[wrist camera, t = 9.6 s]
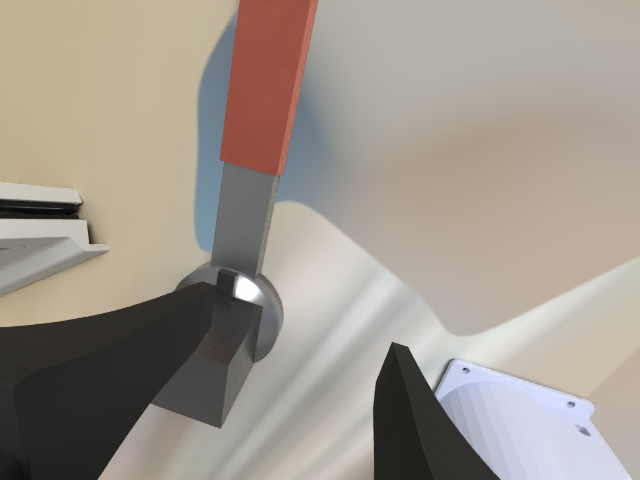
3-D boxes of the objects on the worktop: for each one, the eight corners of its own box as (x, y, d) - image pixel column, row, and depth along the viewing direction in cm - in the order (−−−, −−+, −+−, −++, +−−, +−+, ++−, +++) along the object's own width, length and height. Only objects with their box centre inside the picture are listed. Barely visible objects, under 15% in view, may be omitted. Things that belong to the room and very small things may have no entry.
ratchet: (362, -8, 16) (356, -55, 12) (272, 365, 25) (250, 413, 21) (216, -41, 17) (161, -97, 13) (179, 334, 26) (140, 375, 22)
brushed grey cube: (263, 306, 21) (228, 365, 17) (253, 364, 24) (220, 428, 19) (184, 281, 22) (130, 331, 17) (183, 340, 24) (135, 398, 20)
